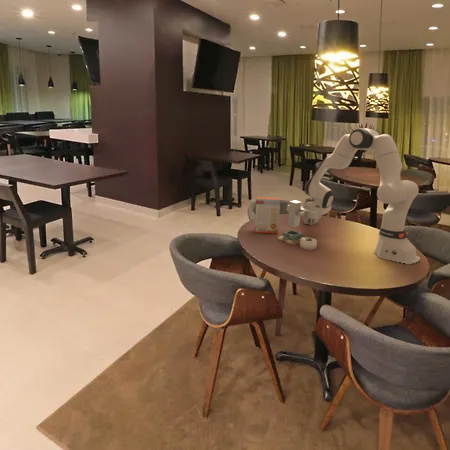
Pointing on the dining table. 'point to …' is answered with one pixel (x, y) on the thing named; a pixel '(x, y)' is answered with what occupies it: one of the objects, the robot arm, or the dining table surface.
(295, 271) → the dining table surface
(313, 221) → the coffee box
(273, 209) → the cracker box
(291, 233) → the square socket board
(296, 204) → the square bit
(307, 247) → the round bore block
